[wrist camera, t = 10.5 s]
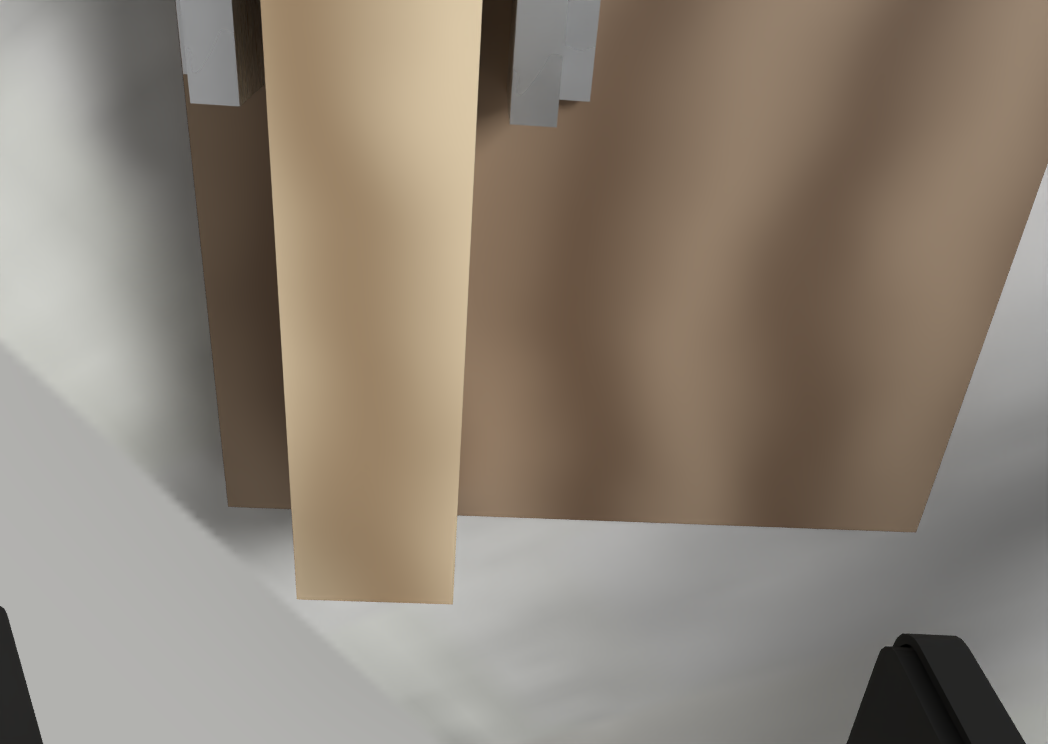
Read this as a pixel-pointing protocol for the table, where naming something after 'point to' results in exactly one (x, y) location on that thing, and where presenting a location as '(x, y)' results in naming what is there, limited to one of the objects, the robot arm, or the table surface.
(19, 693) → the robot arm
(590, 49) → the bracket
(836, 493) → the board
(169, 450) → the table surface
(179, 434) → the table surface
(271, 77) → the rail
